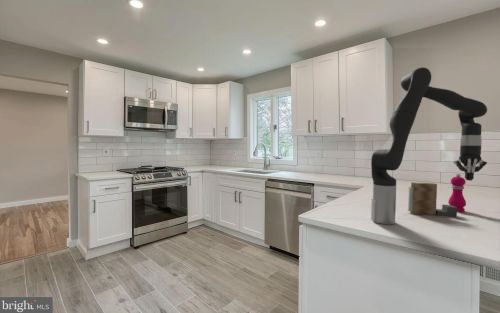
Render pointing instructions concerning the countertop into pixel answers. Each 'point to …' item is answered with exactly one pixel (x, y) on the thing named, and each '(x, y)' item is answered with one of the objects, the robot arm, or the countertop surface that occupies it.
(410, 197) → the sliding door
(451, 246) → the countertop surface
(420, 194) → the brown upright flat box
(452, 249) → the countertop surface
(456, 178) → the pepper mill
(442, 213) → the block
